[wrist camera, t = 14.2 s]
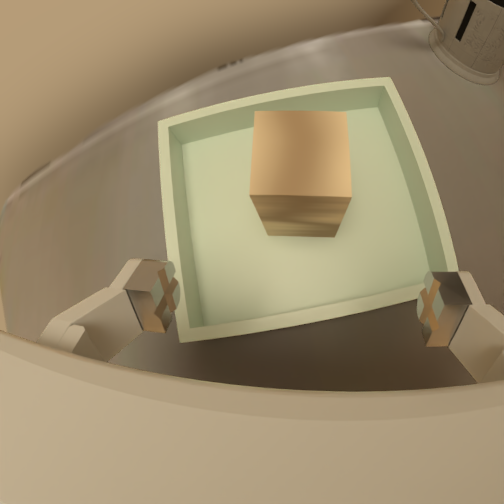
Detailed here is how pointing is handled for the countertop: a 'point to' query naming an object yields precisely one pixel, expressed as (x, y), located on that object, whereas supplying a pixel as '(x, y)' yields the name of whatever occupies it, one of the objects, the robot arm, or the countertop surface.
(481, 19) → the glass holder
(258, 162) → the block
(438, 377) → the countertop surface
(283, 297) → the tray
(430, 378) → the countertop surface
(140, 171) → the countertop surface
